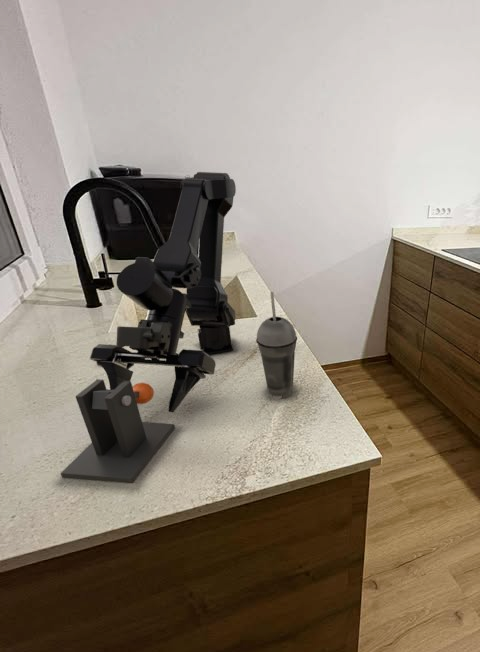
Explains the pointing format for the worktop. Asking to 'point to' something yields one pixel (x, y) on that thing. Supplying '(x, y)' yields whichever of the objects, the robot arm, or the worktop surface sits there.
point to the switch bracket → (115, 437)
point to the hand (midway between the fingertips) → (143, 410)
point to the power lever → (141, 393)
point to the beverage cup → (277, 353)
